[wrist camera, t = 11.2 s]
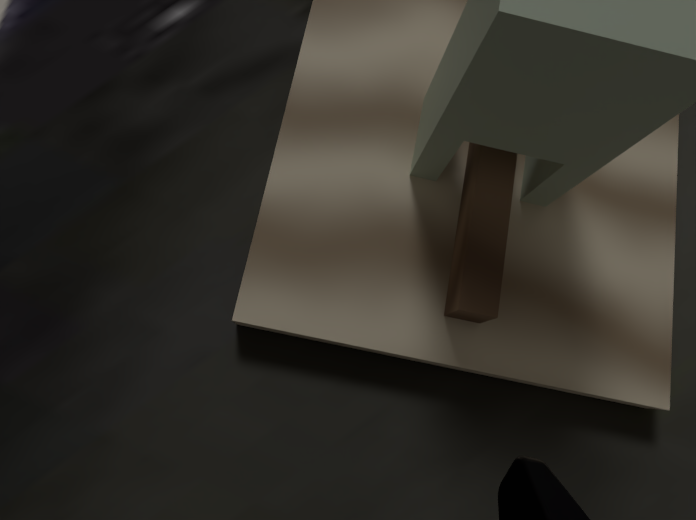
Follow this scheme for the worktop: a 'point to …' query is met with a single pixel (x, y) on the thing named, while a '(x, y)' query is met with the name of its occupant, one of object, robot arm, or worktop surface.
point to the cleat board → (454, 228)
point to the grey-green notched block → (558, 85)
